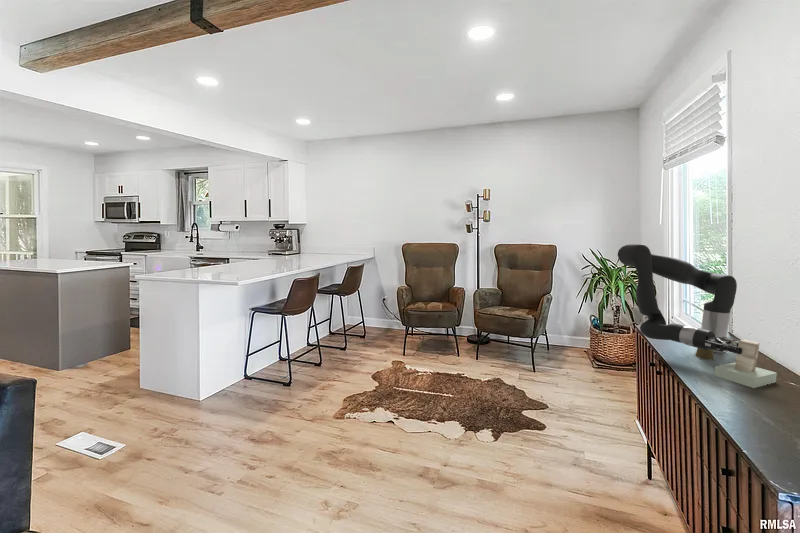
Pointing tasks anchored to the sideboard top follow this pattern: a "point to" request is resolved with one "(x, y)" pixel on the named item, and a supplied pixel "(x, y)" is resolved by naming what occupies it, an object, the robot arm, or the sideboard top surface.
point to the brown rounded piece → (705, 353)
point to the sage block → (745, 375)
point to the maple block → (747, 356)
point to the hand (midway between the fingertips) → (747, 349)
